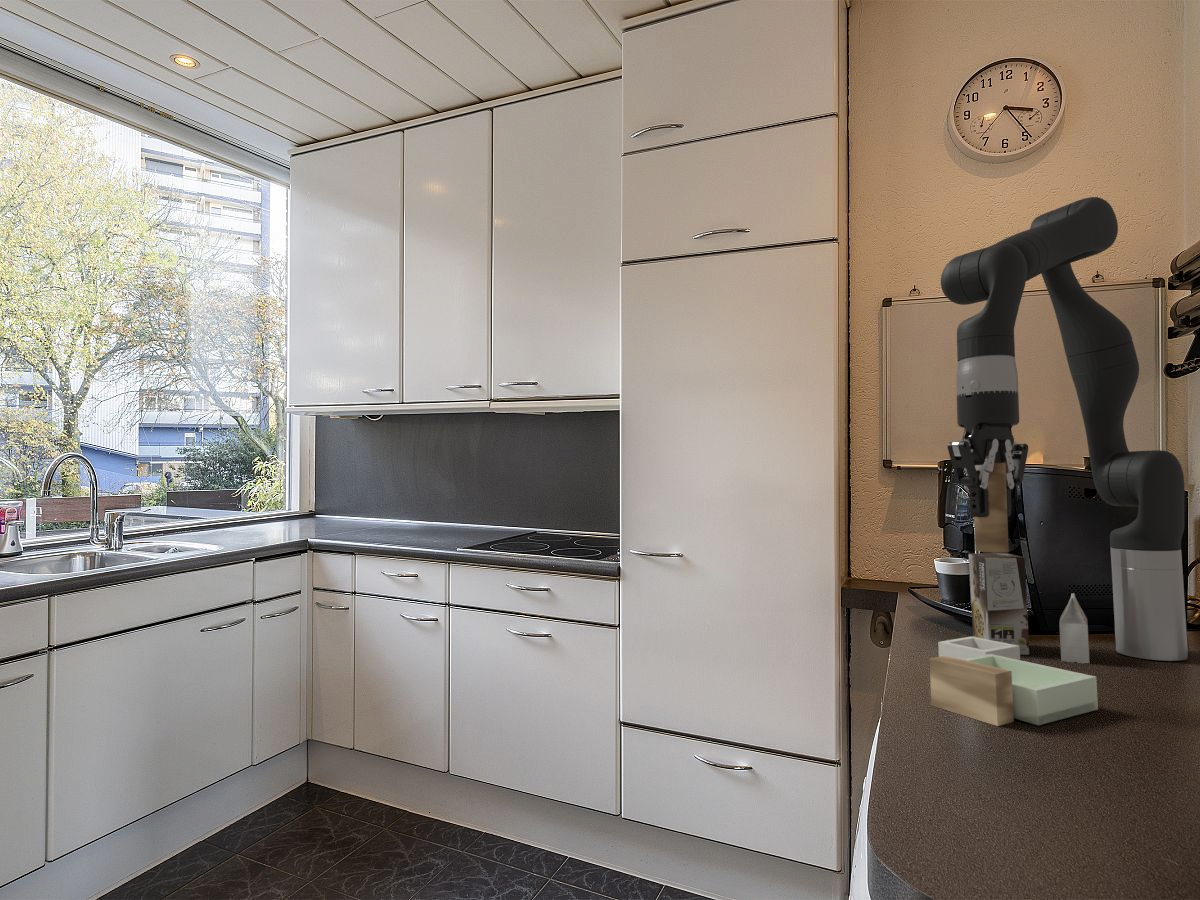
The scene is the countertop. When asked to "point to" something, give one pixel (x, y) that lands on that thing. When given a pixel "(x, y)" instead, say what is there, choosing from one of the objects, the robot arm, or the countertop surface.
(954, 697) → the rectangular wooden block
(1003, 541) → the dowel
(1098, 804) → the countertop surface
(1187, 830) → the countertop surface
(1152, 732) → the countertop surface
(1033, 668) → the tray
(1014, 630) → the coffee box
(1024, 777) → the countertop surface
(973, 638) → the socket block
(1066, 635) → the white gable carton
